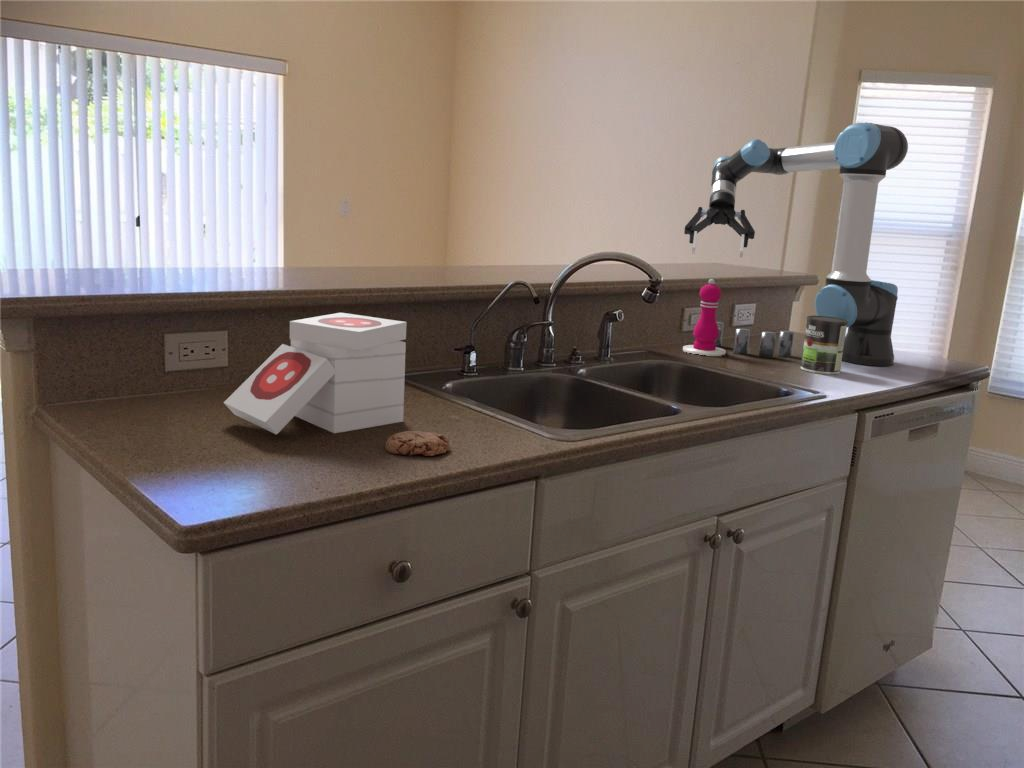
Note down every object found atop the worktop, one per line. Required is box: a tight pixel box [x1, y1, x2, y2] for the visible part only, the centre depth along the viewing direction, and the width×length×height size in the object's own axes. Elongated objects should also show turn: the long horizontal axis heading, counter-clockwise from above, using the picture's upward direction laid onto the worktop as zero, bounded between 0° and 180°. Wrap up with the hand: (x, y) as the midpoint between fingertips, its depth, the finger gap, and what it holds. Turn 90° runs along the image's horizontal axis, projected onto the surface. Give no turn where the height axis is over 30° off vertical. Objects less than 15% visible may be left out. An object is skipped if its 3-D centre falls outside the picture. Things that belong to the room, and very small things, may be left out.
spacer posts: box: [714, 321, 795, 359], centre depth 261 cm, size 20×18×7 cm
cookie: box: [385, 430, 451, 457], centre depth 149 cm, size 10×11×3 cm
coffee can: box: [799, 315, 848, 376], centre depth 237 cm, size 10×10×14 cm
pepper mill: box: [692, 278, 722, 351], centre depth 253 cm, size 7×7×20 cm
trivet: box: [682, 344, 727, 357], centre depth 256 cm, size 12×12×1 cm
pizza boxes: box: [223, 312, 408, 435], centre depth 159 cm, size 19×30×18 cm, turn 133°
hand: (717, 252), depth 260 cm, fingers open, 13 cm apart
